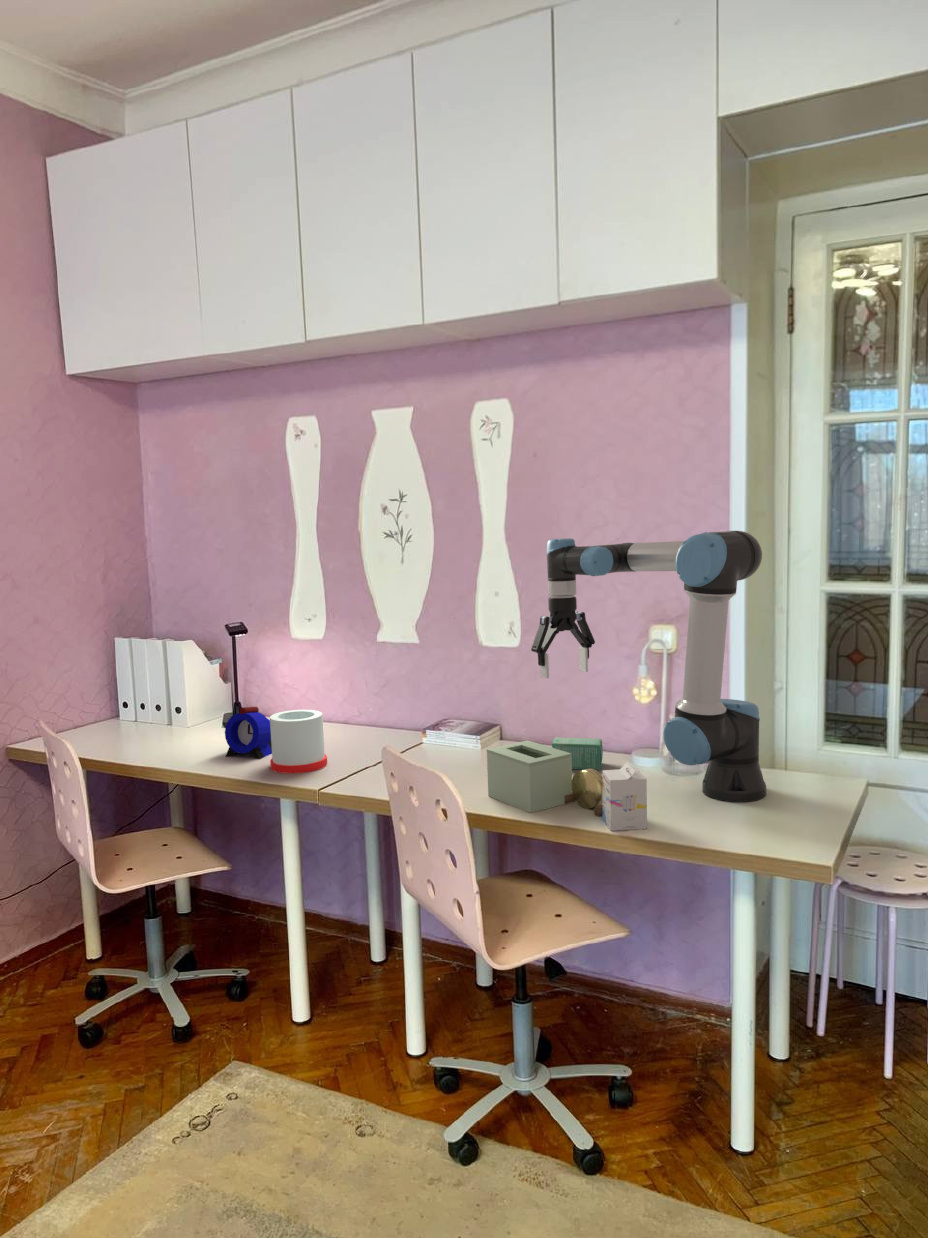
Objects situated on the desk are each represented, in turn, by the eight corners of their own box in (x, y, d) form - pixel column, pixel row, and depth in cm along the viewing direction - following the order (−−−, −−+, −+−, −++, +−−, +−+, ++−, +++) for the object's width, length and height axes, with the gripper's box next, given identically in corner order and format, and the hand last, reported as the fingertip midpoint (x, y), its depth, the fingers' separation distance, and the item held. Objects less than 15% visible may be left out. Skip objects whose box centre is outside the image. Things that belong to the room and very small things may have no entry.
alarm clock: (224, 757, 284) (220, 708, 282) (247, 747, 295) (244, 699, 293) (258, 760, 279) (255, 710, 278) (281, 749, 291) (278, 701, 289)
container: (259, 770, 268) (255, 719, 267) (292, 756, 283) (289, 707, 281) (306, 775, 262) (303, 723, 260) (338, 760, 276) (335, 711, 274)
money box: (572, 801, 231) (571, 753, 230) (530, 813, 224) (529, 763, 222) (529, 785, 245) (527, 740, 244) (488, 796, 238) (486, 749, 236)
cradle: (618, 811, 223) (618, 802, 223) (599, 816, 220) (599, 808, 219) (579, 797, 234) (579, 789, 234) (561, 802, 231) (561, 794, 231)
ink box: (601, 818, 218) (600, 762, 217) (637, 816, 219) (636, 760, 217) (610, 831, 210) (609, 772, 208) (648, 829, 210) (647, 770, 209)
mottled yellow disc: (581, 801, 231) (580, 765, 230) (606, 810, 224) (606, 772, 223) (572, 803, 230) (571, 767, 229) (597, 812, 222) (596, 775, 221)
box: (601, 770, 257) (601, 743, 256) (551, 770, 259) (551, 743, 258) (603, 763, 264) (602, 737, 263) (554, 762, 266) (553, 736, 265)
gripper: (588, 591, 265) (590, 666, 267) (516, 599, 251) (519, 678, 253) (606, 593, 258) (608, 670, 261) (534, 601, 245) (536, 682, 247)
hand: (564, 674), depth 257 cm, fingers open, 13 cm apart
